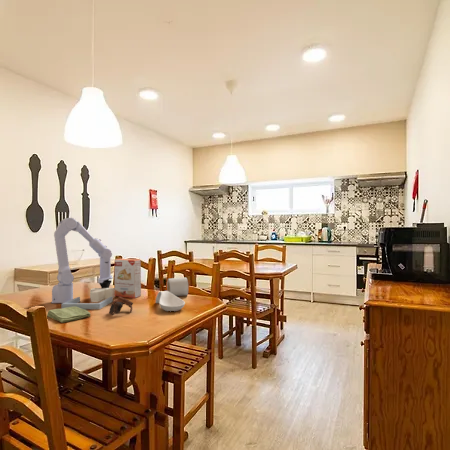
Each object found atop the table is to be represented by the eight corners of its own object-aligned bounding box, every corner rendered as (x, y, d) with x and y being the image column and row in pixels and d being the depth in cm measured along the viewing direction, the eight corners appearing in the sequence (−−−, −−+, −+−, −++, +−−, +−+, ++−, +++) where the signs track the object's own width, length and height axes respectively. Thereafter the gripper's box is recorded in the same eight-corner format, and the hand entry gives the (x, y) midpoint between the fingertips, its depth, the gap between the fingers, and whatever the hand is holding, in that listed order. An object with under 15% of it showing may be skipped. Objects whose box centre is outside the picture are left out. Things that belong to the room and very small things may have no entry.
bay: (61, 309, 150) (61, 304, 150) (77, 301, 166) (77, 296, 166) (99, 309, 150) (99, 303, 150) (112, 301, 165) (112, 296, 165)
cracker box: (114, 296, 177) (113, 259, 178) (121, 294, 183) (121, 258, 183) (134, 298, 172) (134, 260, 172) (141, 296, 178) (141, 258, 178)
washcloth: (61, 325, 127) (61, 316, 127) (45, 317, 139) (45, 309, 139) (93, 317, 136) (93, 310, 136) (75, 311, 148) (75, 304, 148)
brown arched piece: (109, 312, 146) (118, 295, 149) (128, 321, 146) (137, 304, 148) (103, 311, 135) (113, 293, 137) (123, 321, 135) (132, 303, 137)
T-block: (83, 302, 165) (83, 292, 165) (93, 297, 177) (93, 288, 177) (106, 301, 165) (106, 292, 165) (114, 296, 177) (114, 287, 177)
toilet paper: (170, 298, 171) (170, 279, 172) (167, 294, 181) (167, 277, 181) (188, 296, 175) (188, 278, 175) (184, 293, 184) (184, 276, 184)
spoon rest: (189, 311, 144) (189, 295, 145) (164, 315, 138) (164, 299, 138) (170, 301, 165) (170, 287, 165) (148, 304, 159) (147, 290, 159)
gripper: (107, 271, 172) (107, 296, 171) (116, 268, 186) (117, 291, 186) (94, 271, 172) (94, 296, 172) (105, 268, 186) (105, 291, 186)
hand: (105, 293), depth 179 cm, fingers closed
